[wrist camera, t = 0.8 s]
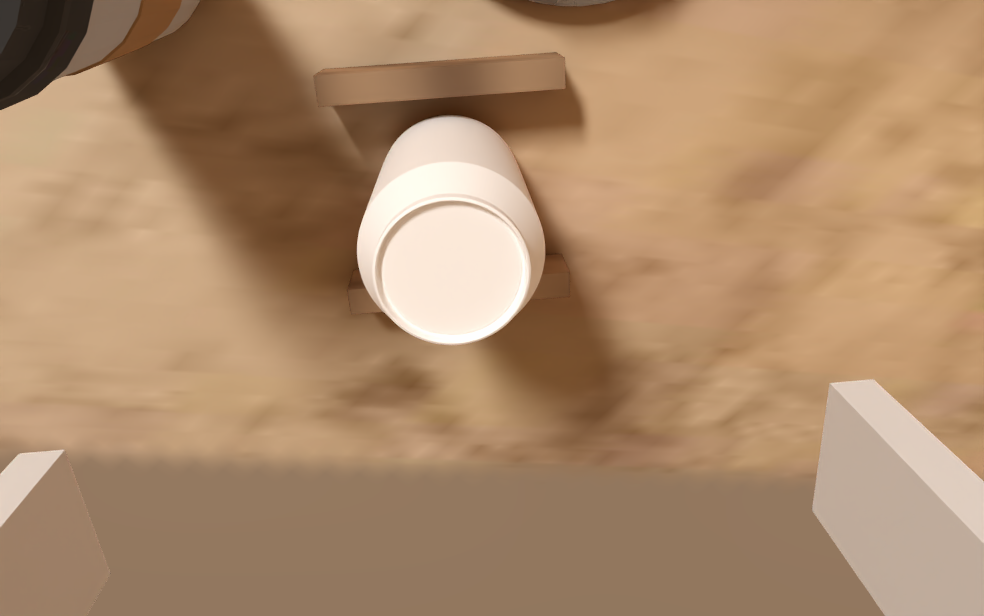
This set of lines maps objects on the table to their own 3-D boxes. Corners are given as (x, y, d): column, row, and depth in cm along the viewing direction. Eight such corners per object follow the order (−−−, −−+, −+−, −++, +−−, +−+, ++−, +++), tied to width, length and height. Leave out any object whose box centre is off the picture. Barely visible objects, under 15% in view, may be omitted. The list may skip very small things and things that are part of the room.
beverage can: (503, 254, 35) (528, 377, 24) (374, 231, 34) (338, 348, 23) (531, 125, 32) (574, 196, 22) (393, 97, 32) (364, 157, 21)
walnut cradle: (357, 293, 35) (350, 314, 33) (323, 69, 31) (313, 75, 29) (562, 276, 36) (569, 296, 33) (556, 52, 31) (564, 57, 29)
